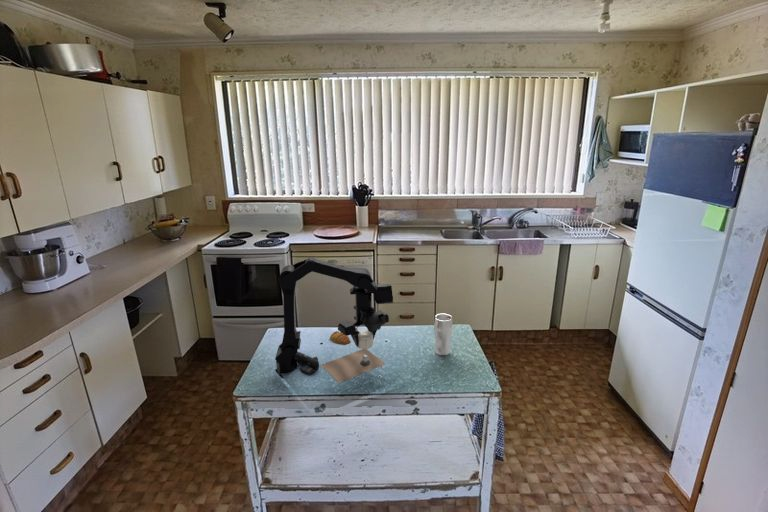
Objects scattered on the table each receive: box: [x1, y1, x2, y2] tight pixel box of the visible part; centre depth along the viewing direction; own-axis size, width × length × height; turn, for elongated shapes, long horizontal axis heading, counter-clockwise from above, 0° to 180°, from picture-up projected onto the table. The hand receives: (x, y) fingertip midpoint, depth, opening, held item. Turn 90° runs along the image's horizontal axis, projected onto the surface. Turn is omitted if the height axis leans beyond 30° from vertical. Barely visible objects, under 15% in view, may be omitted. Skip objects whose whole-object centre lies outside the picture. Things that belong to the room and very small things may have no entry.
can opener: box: [295, 351, 320, 376], centre depth 145 cm, size 18×7×6 cm, turn 46°
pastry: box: [329, 330, 352, 346], centre depth 162 cm, size 9×7×4 cm
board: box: [320, 349, 387, 384], centre depth 145 cm, size 20×14×1 cm
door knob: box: [360, 355, 370, 366], centre depth 145 cm, size 4×4×4 cm
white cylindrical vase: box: [433, 313, 453, 357], centre depth 152 cm, size 7×7×15 cm
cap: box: [357, 329, 374, 350], centre depth 142 cm, size 6×6×4 cm
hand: (364, 343), depth 143 cm, fingers closed on cap, 6 cm apart
